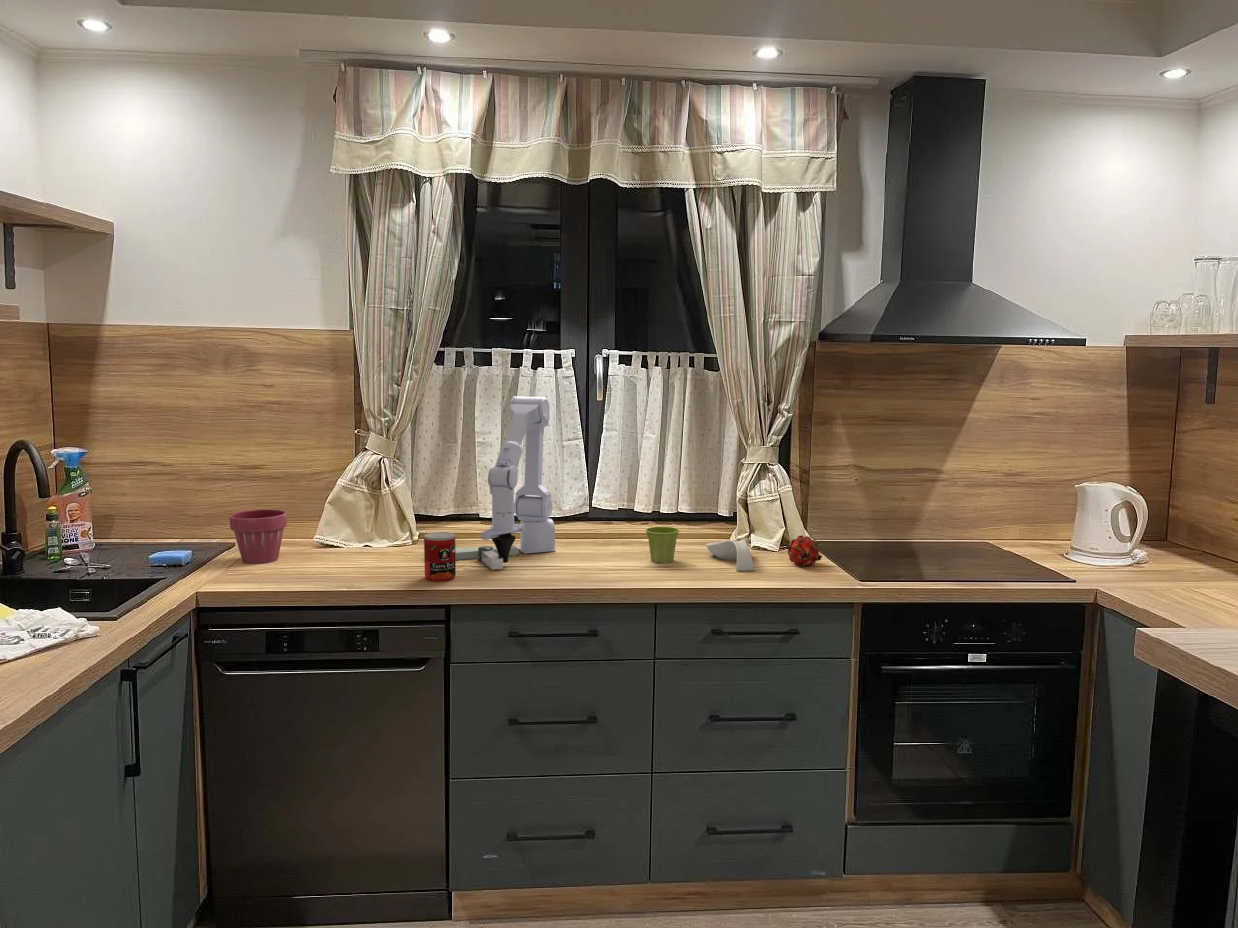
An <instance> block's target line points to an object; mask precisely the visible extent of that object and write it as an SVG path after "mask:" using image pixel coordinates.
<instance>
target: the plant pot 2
mask: <svg viewBox="0 0 1238 928" xmlns="http://www.w3.org/2000/svg"><path fill="white" fill-rule="evenodd" d="M680 531H681V529H679V528H678V527H672V526H650V527H647V528H645V529H644V532H645V533H646V536H647V538H648V546H649V555H650V561H651V562H653V563H660V564H666V563H671V562H673V561H674V560H675V559H674V558H675V551H676V544H677V538H678V536H679V533H680Z"/></svg>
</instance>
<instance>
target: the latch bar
mask: <svg viewBox="0 0 1238 928" xmlns="http://www.w3.org/2000/svg"><path fill="white" fill-rule="evenodd" d="M490 546H491V545H485V546H484V545H483V547H482V546H478V547H479V548H478V558H477V560H478V561H481V562H482V563H483V564H485V566H487V567H488V568H489V569H490V570H491V571H493V570H494V571H495V570H503V569H504V563H503V558H502V557H501V556H499V555H498V554H497V553H496V552H494V551H493V547H490Z"/></svg>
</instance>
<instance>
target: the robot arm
mask: <svg viewBox="0 0 1238 928" xmlns="http://www.w3.org/2000/svg"><path fill="white" fill-rule="evenodd" d="M509 401H510V402H509V413H510V414H509V415H510V418H511V423H510V429H509V433H508V436H507V437H508V438H507V441H506V442H503V443H502V445H501V447H500V450H499V453H498V456H497V459H496V462H495V465H494V466H493V467H491V468H490V469H489V471H488V475H487V484H488V486H489V493H490V495H491V512H492V513H491V521H492V522H491V523H492V526H490V527H489V529H487V530H484V531H481V532H480V537H481V538H480V539H481V540H482V541H483V540H485V541H489V540H490V539H491V541H492V542H493V545H495V546H496V548H497V551H498V554H499V556H501V557H502V558H503V564H508V562H509V558H510V557H509V552H510V549H511V546H512V545H514V542H515V541H516V535H513V534H515V533H520V546H516V547H517V551H518V550H519V551H520V552H522V553H523V554H535V553H546V552H556V526H555V522H554V520H553V519H552V518H550V517H551V515H552V512H553V501H552V493H551V491H549V490H548V489H547V488H546V487H545V486H544V485H543V460H544V458H543V457H544V436H545V435H544V433H545V432H544V431H545V427H547V426H549V424H550V403H549V401H548V399H547V397H546V396H518V395H514V396H512V398H511V399H510V400H509ZM524 437H525V454H524V455H525V456H524V457H525V461H524V485H523V486H522V487H520V488H519V489H518V490H517V491H516V492H515V488H516V486H517V484H518V480H519V468H518V467H519V464H520V461H521V457H522V454H523V448H522V447H521V444H522V442H523V440H524ZM515 517H517V520H518V521H520V523H516V524H515Z"/></svg>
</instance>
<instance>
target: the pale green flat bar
mask: <svg viewBox="0 0 1238 928" xmlns="http://www.w3.org/2000/svg"><path fill="white" fill-rule="evenodd" d="M483 546H484V545H483ZM483 546H481V547H483ZM489 546H490V547H493V551H494V552H496V553H497V554H498V551H497V548H496V546H495V544H493V545H489ZM479 547H480V546H472V547H470V546H469V547H459V548H455V550H456V561H461V560H472V559H478V548H479ZM517 547H518V546H515V545H514V544H512V546H511V549H510V552H509V556H517V555H518V549H517ZM498 555H499V554H498Z"/></svg>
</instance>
